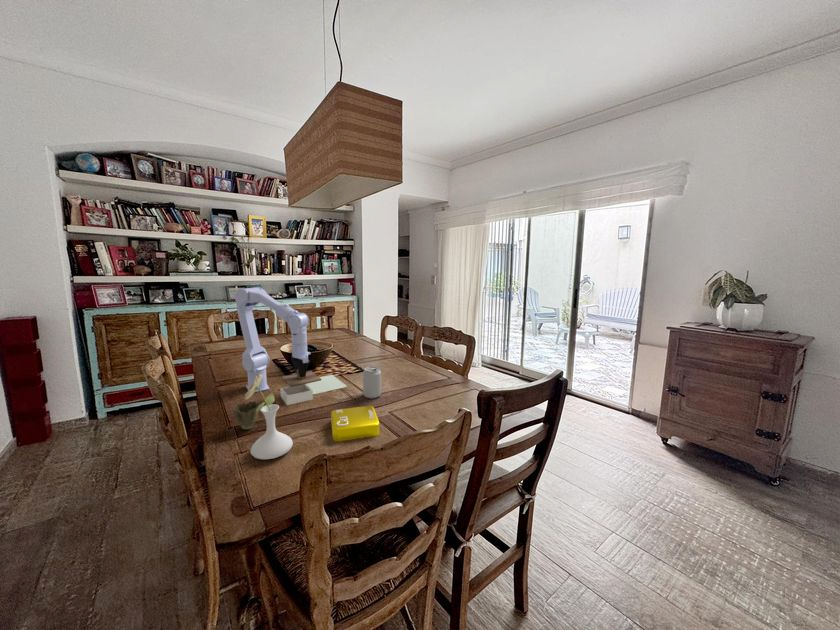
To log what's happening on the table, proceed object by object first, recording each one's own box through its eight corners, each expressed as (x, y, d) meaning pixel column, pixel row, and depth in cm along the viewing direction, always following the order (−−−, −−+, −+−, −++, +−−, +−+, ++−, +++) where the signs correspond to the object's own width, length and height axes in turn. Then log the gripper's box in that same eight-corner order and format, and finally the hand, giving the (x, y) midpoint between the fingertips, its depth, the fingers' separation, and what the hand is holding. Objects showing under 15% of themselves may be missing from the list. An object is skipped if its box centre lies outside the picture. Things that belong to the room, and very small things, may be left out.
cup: (233, 435, 104) (231, 412, 103) (236, 425, 111) (234, 403, 109) (259, 431, 107) (258, 408, 106) (260, 421, 114) (259, 399, 112)
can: (377, 400, 132) (377, 372, 131) (360, 398, 134) (360, 370, 132) (383, 393, 140) (383, 366, 138) (366, 391, 141) (366, 364, 139)
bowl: (280, 397, 134) (280, 388, 133) (305, 392, 139) (305, 383, 139) (287, 406, 126) (286, 396, 125) (312, 400, 131) (312, 390, 131)
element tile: (380, 436, 106) (380, 423, 105) (333, 443, 102) (332, 429, 101) (373, 415, 120) (373, 403, 119) (331, 421, 116) (330, 408, 115)
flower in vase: (270, 438, 103) (265, 362, 99) (301, 445, 100) (297, 366, 96) (236, 462, 91) (229, 377, 86) (270, 470, 87) (264, 382, 83)
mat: (299, 382, 150) (299, 381, 150) (332, 375, 160) (332, 374, 159) (311, 395, 136) (311, 394, 136) (347, 387, 145) (347, 386, 145)
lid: (282, 377, 135) (281, 368, 134) (311, 371, 142) (310, 362, 142) (291, 387, 126) (290, 377, 125) (321, 380, 133) (320, 370, 132)
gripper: (315, 345, 128) (316, 378, 130) (304, 338, 140) (305, 368, 142) (297, 348, 124) (298, 382, 126) (286, 340, 135) (288, 371, 138)
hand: (301, 375), depth 134 cm, fingers closed on lid, 4 cm apart
